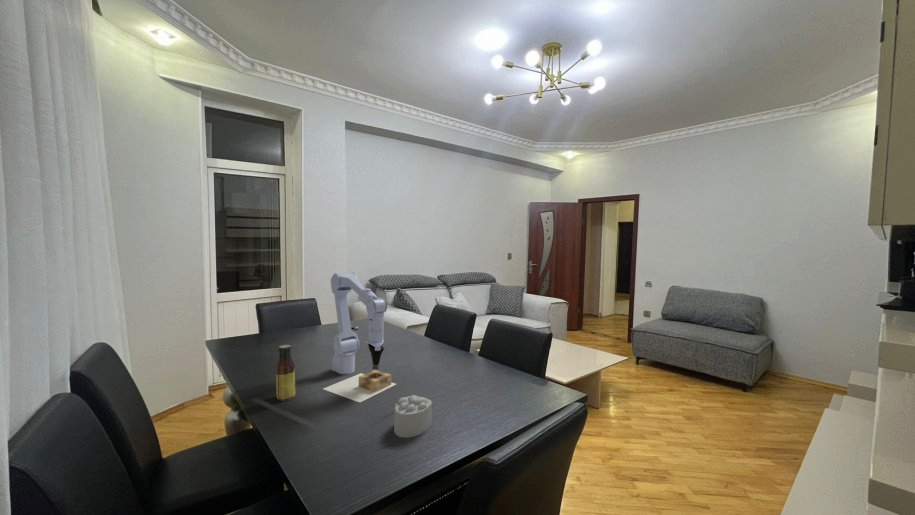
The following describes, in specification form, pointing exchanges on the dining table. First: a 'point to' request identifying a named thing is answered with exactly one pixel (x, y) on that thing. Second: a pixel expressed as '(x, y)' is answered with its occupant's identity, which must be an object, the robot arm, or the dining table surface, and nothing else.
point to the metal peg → (375, 366)
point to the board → (353, 389)
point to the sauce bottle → (285, 374)
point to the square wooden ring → (375, 380)
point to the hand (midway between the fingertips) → (375, 363)
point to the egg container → (412, 416)
